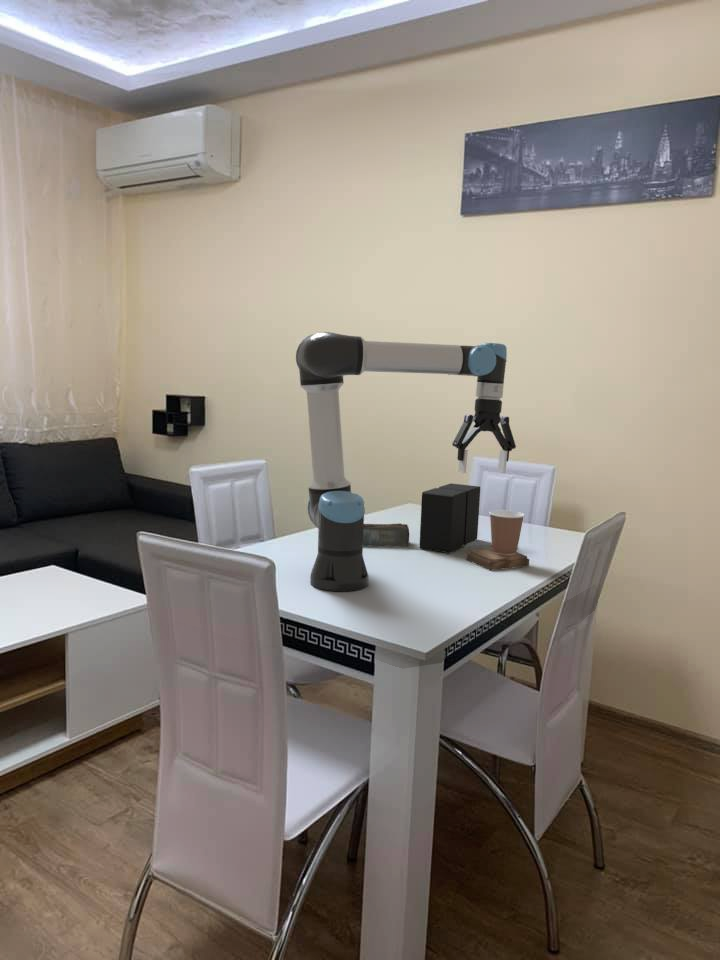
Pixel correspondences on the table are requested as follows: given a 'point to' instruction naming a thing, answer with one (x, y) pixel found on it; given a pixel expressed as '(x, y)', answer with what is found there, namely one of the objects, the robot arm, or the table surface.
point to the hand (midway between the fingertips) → (482, 472)
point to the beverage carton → (386, 534)
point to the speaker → (449, 517)
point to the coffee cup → (505, 531)
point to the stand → (496, 559)
